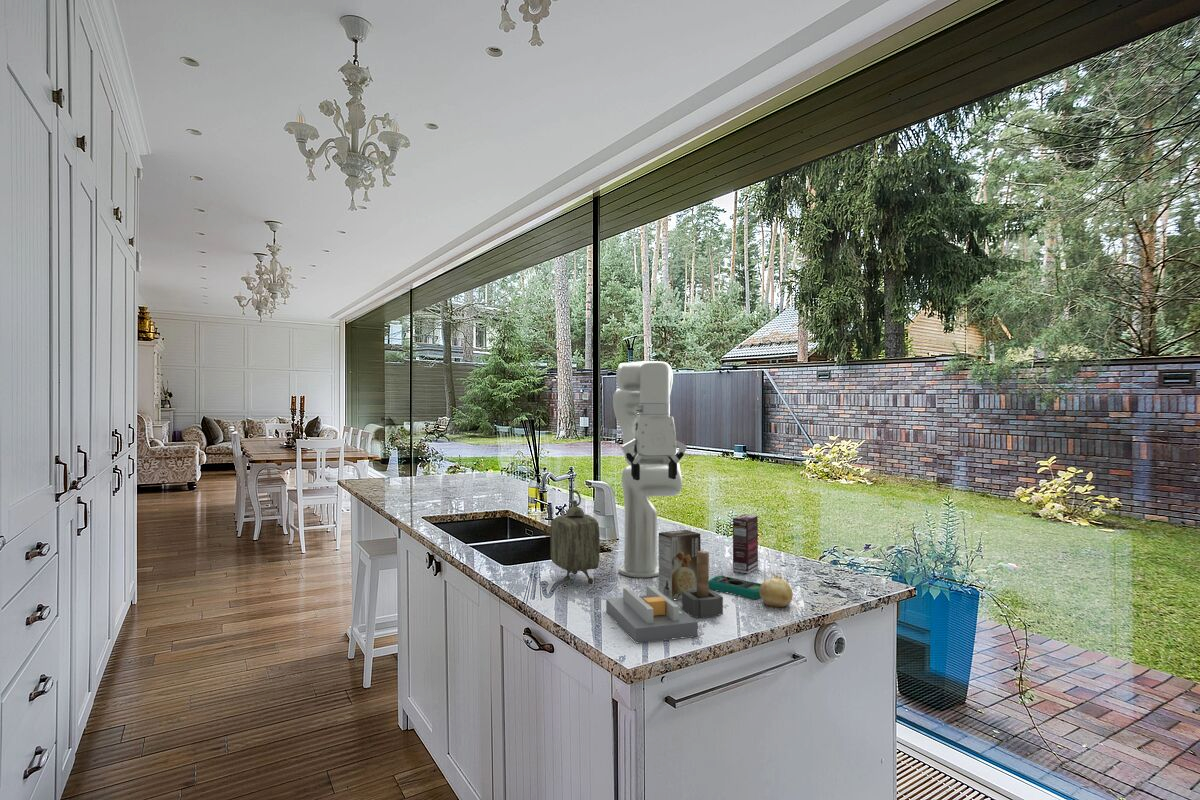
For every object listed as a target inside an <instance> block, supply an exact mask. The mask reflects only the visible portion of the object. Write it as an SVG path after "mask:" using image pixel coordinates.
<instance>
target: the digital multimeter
mask: <svg viewBox="0 0 1200 800" xmlns="http://www.w3.org/2000/svg"><path fill="white" fill-rule="evenodd" d="M761 584H762V583H761V582H760V583H759V582H753V581H749V580H743V579H738V578H734V577H730V576H725V575H716V576H714V577H711V579H709V590H711V589H713V590H712V591H716V590H718V591H717V592H720V591H722V592H721V593H725V592H728V593H727V594H730V593H732V594H731V595H734V594H736V595H735V596H738V595H740V596H739V597H742V596H743V597H742V598H746V597H747V599H750V600H751V599H752V600H758V599H760V598H761V596H760V593H759V589H760V586H761ZM761 599H762V598H761Z"/></svg>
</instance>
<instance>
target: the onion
mask: <svg viewBox="0 0 1200 800" xmlns="http://www.w3.org/2000/svg"><path fill="white" fill-rule="evenodd" d="M771 574H772V576H773V577H772V578H768V579H766V580H763V582H761V583H760V584H761V586H760V589H759V593H760V596H761V599H762V602H763V603H764V604H765V605H766V606H769V607H772V608H773V607H774V608H783V607H786V606H787V605H788V604H790V603H791V602H792V600H793V596H794V594H793V593H794V591H793V589H792V587H791V586H790V584H789V583H788V582H787V581H786V580H785V579H783V577H782V576H781V575H779V574H776V575H775V574H774V573H771Z"/></svg>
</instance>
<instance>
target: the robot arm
mask: <svg viewBox="0 0 1200 800" xmlns="http://www.w3.org/2000/svg"><path fill="white" fill-rule="evenodd" d="M615 375H616V376H615V378H616V379H615V380H616V385H617V387H618V388H617V389H616V390H615V391H614V393H613V397H612V405H613V406H612V407H613V412H614V413H613V414H614V416H615V419H616V422H617V423H618V426H619V428H620V429H621V433H622V442H623V443H622V444H623V445H621V446H620V448H621V451H622V453H623V454H624V458H625V462H626V463H627V466H626V467H624V468H623V470H622V473H621V485H622V491H623V502H624V547H623V548H624V549H623V550H624V554H623V555H624V558H623V559H624V561H623V562H624V564H622V565H620V566H619V567H618V572H619V573H620V574H621V575H624V576H626V577H631V578H639V579H640V578H643V579H644V578H652V577H653V578H654V577H659V564H658V511H657V508H656V507H655V505H654V504H653V503H652V502H651V501H650V500H649V498H652V497H675V496H677V495H679V494H680V493H681V491H682V487H683V477H682V471H681V464H680V460H681V459H682V458H683V457H684V454H685V453H686V450H687V448H688V446H687V444H684V443H683V442H682V441H679V440H677V435H676V434H677V433H676V425H675V419H674V416H670V415H671V414H670V413H671V411H670V410H671V406H670V405H671V399H670V398H671V392H672V389H673V381H674V371H673V369H672V367H671V365H670V364H669V363H668V362H666V361H659V360H658V361H655V360H654V361H643V360H642V361H632V362H620V363H619V364H618V366H617V369H616V374H615ZM677 447H678V449H677Z"/></svg>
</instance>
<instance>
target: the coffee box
mask: <svg viewBox="0 0 1200 800" xmlns="http://www.w3.org/2000/svg"><path fill="white" fill-rule="evenodd" d="M701 549H702V548H701V533H698V532H695V531H692V530H688V529H681V530H670V531H662V532H661V531H660V532H658V566H659V575H658V591H659V592H661V593H662V594H663V595H665V596H666V597H667V598H669V599H671V601H672V600H673V601H675V600H674V599H679V600H682V592H687V591H689V590H697V552H698V551H702V550H701Z"/></svg>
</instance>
